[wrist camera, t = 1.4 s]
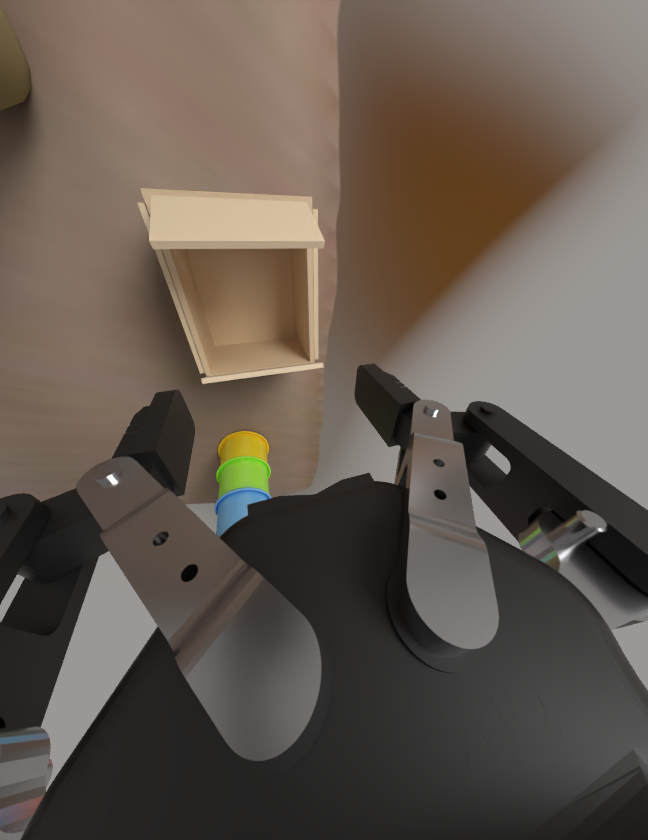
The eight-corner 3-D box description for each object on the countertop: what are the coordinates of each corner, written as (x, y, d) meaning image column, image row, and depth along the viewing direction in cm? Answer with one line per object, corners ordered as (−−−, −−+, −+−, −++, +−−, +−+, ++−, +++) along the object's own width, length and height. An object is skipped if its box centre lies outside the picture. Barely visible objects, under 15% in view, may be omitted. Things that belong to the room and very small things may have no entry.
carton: (159, 199, 25) (131, 188, 18) (295, 204, 28) (318, 197, 21) (207, 349, 35) (202, 380, 28) (302, 339, 39) (318, 365, 32)
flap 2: (212, 375, 27) (201, 378, 22) (310, 362, 30) (322, 362, 25) (213, 379, 27) (202, 383, 22) (310, 366, 30) (323, 367, 25)
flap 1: (151, 194, 17) (149, 240, 15) (306, 201, 20) (324, 241, 18) (154, 203, 18) (153, 249, 15) (305, 209, 21) (324, 248, 18)
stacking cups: (230, 470, 52) (231, 697, 27) (208, 439, 46) (183, 705, 20) (274, 455, 54) (314, 658, 28) (259, 423, 47) (295, 653, 22)
